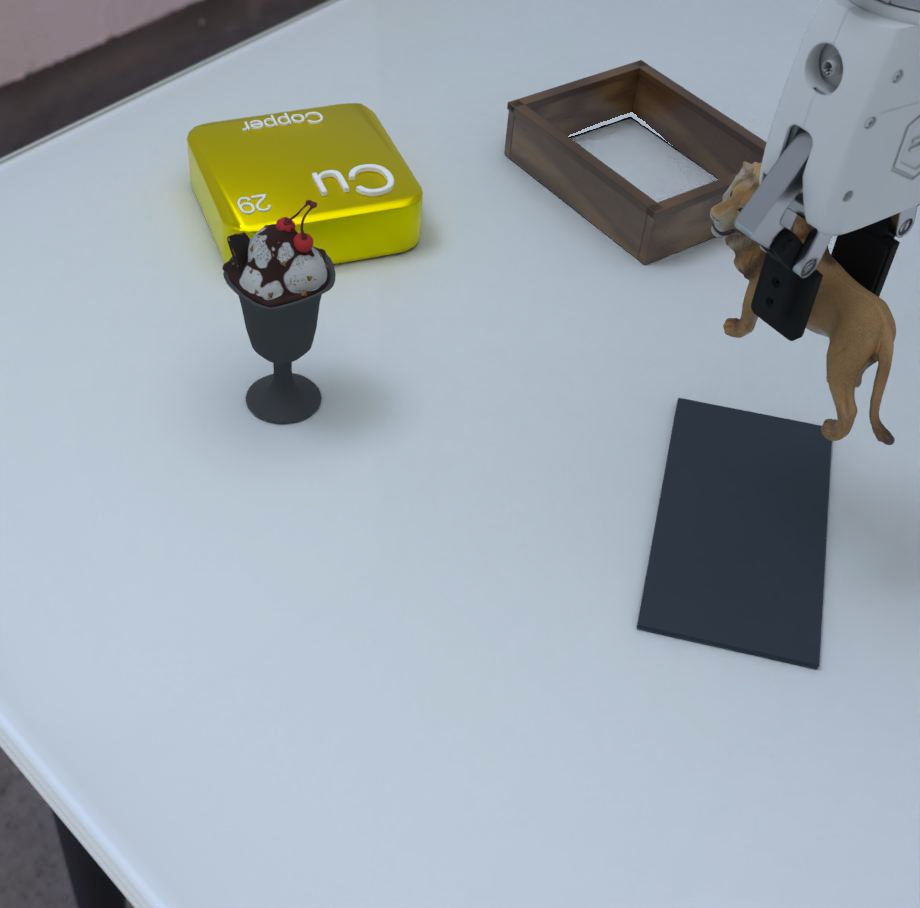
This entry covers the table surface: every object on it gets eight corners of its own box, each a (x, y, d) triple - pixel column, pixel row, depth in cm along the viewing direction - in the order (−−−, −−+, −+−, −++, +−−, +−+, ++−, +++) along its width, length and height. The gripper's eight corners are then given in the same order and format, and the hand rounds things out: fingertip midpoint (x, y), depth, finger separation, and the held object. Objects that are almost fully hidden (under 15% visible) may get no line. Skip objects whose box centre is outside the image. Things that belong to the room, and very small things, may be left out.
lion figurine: (654, 295, 72) (713, 163, 65) (716, 261, 75) (779, 131, 68) (859, 472, 67) (947, 350, 60) (918, 429, 69) (1010, 307, 62)
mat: (677, 401, 87) (678, 397, 86) (831, 432, 85) (832, 427, 85) (636, 628, 74) (637, 624, 73) (817, 669, 72) (819, 665, 72)
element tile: (366, 146, 107) (367, 91, 103) (428, 250, 97) (431, 194, 94) (185, 173, 103) (180, 118, 100) (231, 284, 94) (227, 227, 90)
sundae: (354, 408, 85) (359, 210, 74) (266, 446, 83) (256, 247, 72) (301, 353, 89) (297, 156, 78) (214, 388, 86) (197, 189, 75)
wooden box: (631, 110, 112) (641, 59, 109) (779, 212, 102) (795, 160, 99) (501, 154, 107) (507, 101, 103) (644, 266, 97) (655, 212, 93)
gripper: (856, 38, 49) (742, 406, 62) (1138, -56, 55) (979, 296, 69) (718, -39, 53) (639, 321, 66) (995, -119, 59) (872, 225, 73)
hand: (813, 305), depth 67 cm, fingers closed on lion figurine, 4 cm apart
